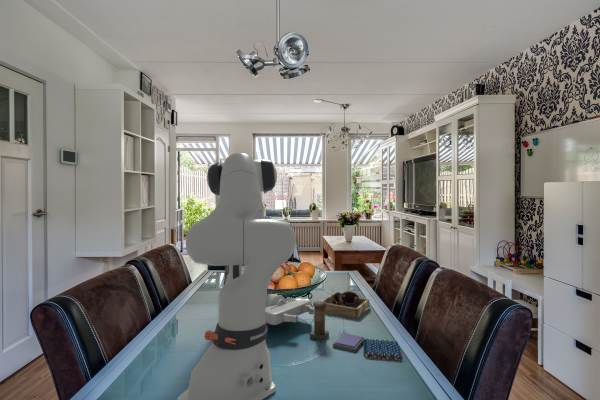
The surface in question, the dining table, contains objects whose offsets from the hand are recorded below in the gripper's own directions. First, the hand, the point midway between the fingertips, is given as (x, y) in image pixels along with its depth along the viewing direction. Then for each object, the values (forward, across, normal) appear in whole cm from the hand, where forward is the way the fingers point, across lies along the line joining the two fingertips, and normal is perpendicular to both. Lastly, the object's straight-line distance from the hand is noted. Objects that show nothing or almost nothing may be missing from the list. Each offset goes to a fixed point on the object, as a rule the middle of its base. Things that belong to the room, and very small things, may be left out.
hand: (305, 315), depth 111 cm
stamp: (+5, 0, +6) cm, 8 cm away
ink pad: (+15, +2, +6) cm, 16 cm away
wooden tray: (-2, +28, +6) cm, 29 cm away
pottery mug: (-2, +30, +6) cm, 30 cm away
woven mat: (+25, +4, +6) cm, 26 cm away
